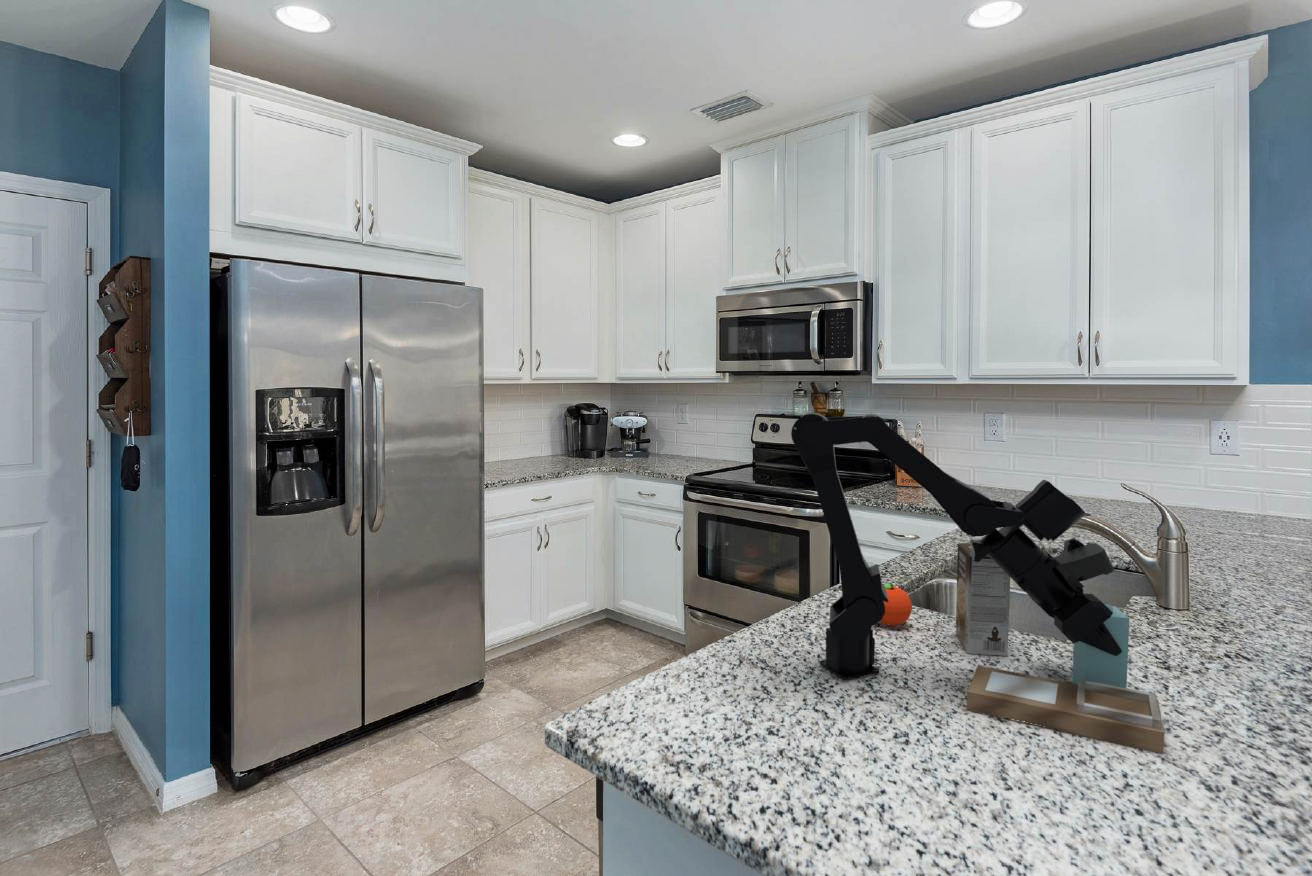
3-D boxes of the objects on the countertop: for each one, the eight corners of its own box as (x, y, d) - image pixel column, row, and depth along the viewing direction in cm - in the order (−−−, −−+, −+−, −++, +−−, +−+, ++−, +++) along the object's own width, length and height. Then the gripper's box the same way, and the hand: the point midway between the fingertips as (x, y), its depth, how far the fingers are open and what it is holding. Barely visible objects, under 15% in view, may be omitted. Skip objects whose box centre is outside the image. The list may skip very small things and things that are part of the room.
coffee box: (954, 634, 120) (956, 541, 118) (994, 636, 118) (996, 543, 117) (966, 654, 111) (969, 554, 109) (1010, 657, 109) (1013, 556, 108)
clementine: (858, 620, 127) (858, 581, 127) (887, 614, 130) (888, 577, 130) (890, 634, 120) (890, 593, 119) (920, 627, 123) (921, 588, 122)
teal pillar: (1084, 697, 95) (1087, 610, 94) (1072, 682, 100) (1075, 599, 99) (1125, 701, 94) (1129, 612, 93) (1111, 686, 99) (1115, 601, 98)
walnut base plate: (966, 709, 92) (967, 684, 92) (977, 682, 100) (978, 658, 100) (1163, 753, 81) (1164, 724, 80) (1157, 718, 89) (1158, 691, 89)
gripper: (1096, 539, 87) (1195, 632, 85) (1052, 512, 105) (1132, 589, 103) (1025, 596, 90) (1119, 688, 88) (993, 561, 108) (1071, 636, 106)
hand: (1111, 646), depth 96 cm, fingers closed on teal pillar, 5 cm apart
